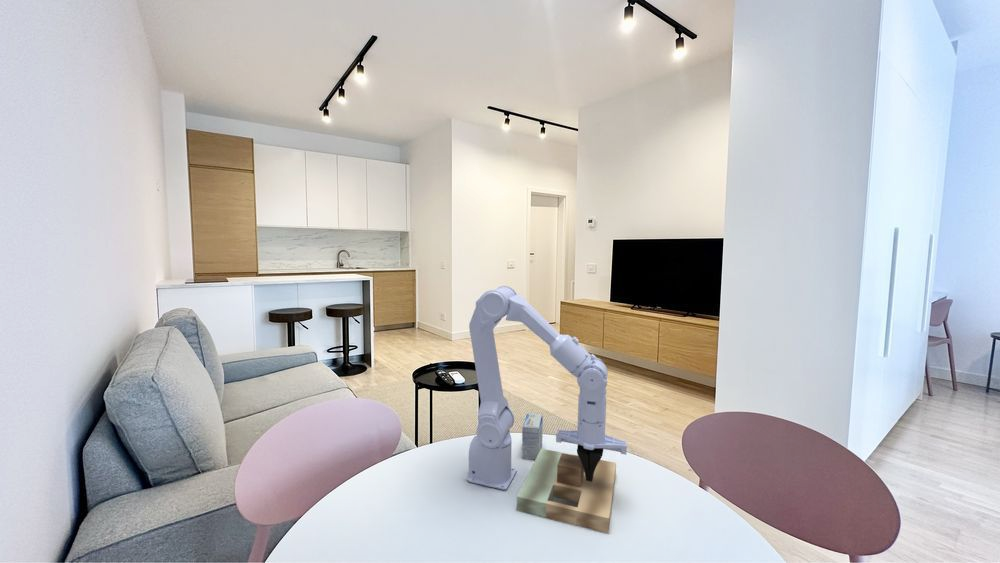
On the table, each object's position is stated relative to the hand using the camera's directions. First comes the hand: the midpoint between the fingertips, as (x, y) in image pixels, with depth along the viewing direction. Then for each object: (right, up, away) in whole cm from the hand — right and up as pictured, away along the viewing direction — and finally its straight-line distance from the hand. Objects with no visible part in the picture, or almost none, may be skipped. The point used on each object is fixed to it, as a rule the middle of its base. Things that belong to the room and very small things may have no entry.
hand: (589, 478), depth 84 cm
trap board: (-4, -4, +2) cm, 6 cm away
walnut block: (-4, -1, +1) cm, 4 cm away
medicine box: (-11, -2, +18) cm, 21 cm away
